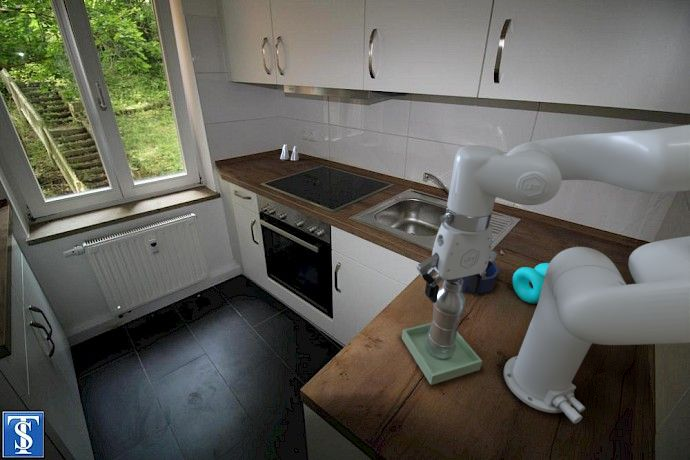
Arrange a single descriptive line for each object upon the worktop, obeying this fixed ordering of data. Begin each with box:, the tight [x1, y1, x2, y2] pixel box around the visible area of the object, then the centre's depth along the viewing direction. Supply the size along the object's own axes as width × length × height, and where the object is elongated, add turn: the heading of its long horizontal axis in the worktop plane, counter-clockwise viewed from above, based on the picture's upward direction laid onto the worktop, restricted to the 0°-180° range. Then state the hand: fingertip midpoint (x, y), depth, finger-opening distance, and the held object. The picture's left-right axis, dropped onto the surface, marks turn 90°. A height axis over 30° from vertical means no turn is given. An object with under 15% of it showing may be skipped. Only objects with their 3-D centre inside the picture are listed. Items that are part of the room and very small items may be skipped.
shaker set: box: [280, 143, 300, 162], centre depth 211 cm, size 12×4×11 cm, turn 97°
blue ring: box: [461, 261, 500, 295], centre depth 96 cm, size 15×15×5 cm
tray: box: [401, 322, 483, 386], centre depth 71 cm, size 13×12×3 cm
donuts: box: [512, 262, 550, 305], centre depth 87 cm, size 10×10×10 cm
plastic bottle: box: [426, 278, 467, 359], centre depth 67 cm, size 6×7×20 cm
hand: (451, 293), depth 64 cm, fingers open, 9 cm apart
